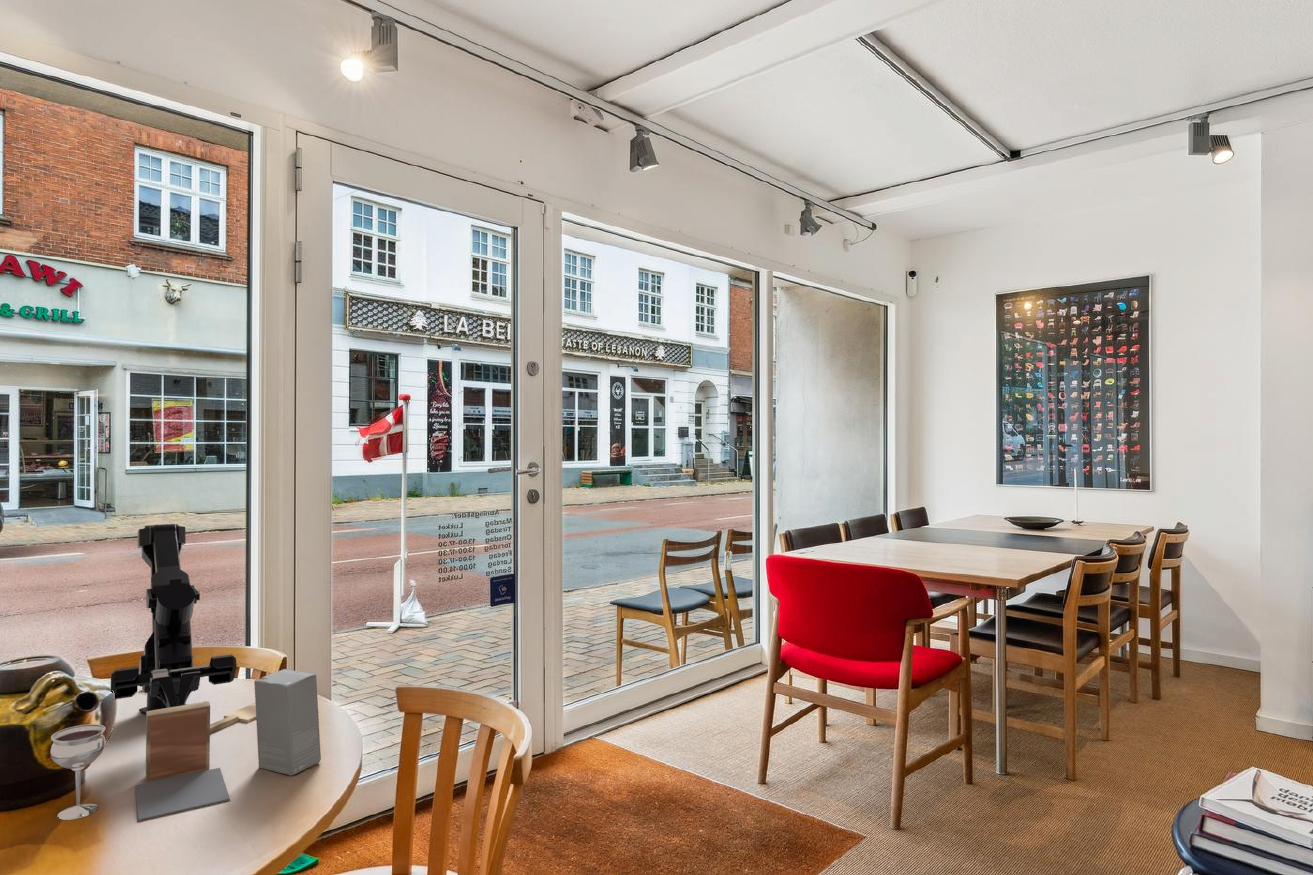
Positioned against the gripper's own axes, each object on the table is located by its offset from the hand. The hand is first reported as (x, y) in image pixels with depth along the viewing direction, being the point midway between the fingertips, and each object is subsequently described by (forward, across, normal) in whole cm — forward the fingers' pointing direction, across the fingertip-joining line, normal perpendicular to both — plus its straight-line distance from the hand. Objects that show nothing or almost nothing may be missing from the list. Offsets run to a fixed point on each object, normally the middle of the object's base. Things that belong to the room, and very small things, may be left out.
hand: (177, 720), depth 134 cm
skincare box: (+12, -16, +1) cm, 20 cm away
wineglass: (+12, +13, 0) cm, 18 cm away
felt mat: (+14, 0, +2) cm, 14 cm away
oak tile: (+8, 0, -4) cm, 9 cm away
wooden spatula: (-7, -11, -18) cm, 22 cm away
